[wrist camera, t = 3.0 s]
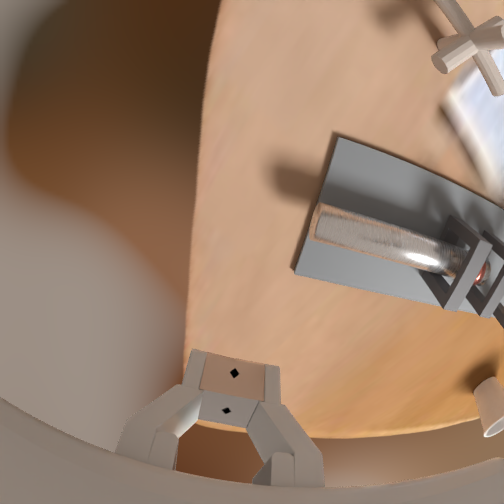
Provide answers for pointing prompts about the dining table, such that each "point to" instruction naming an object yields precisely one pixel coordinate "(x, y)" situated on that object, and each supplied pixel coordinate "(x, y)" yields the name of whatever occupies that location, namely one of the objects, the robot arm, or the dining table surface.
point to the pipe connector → (470, 45)
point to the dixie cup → (490, 405)
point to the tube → (388, 242)
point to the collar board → (413, 218)
